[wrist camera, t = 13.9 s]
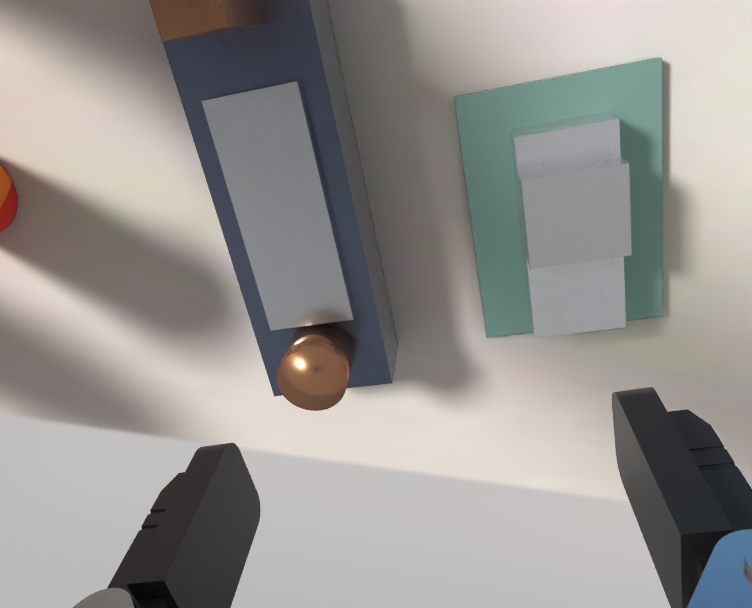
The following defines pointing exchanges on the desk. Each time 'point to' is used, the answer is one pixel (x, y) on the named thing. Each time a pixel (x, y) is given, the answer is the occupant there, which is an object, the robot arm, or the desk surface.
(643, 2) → the desk surface
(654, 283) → the green mat
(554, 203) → the lever cap
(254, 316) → the body
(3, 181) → the paper cup
